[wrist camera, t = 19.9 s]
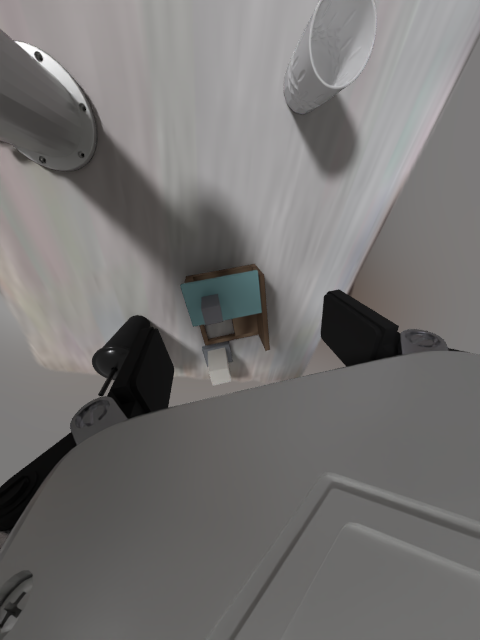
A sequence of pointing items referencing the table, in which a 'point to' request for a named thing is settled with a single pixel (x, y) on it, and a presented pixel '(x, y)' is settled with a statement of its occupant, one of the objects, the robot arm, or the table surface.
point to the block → (218, 366)
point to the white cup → (330, 52)
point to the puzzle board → (246, 323)
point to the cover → (222, 298)
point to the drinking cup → (117, 350)
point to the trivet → (217, 346)
